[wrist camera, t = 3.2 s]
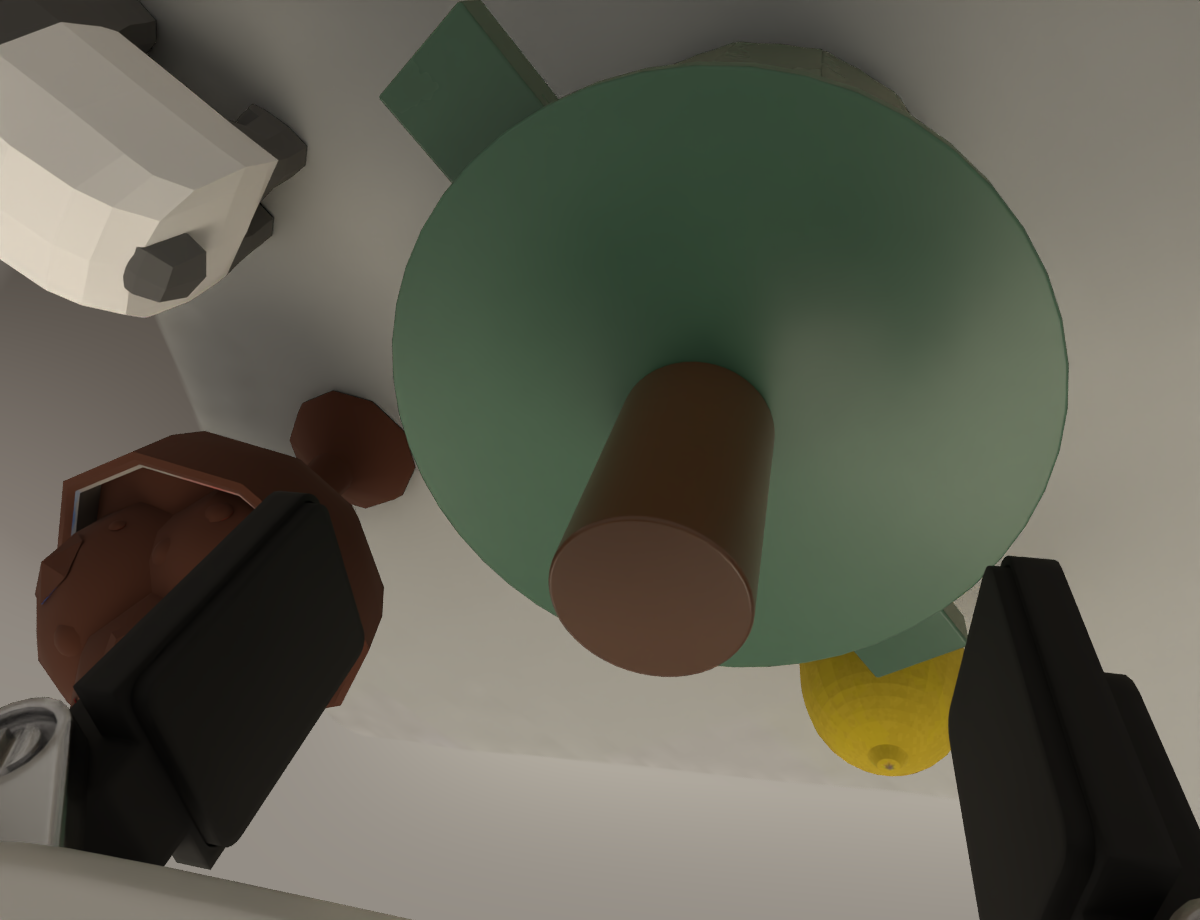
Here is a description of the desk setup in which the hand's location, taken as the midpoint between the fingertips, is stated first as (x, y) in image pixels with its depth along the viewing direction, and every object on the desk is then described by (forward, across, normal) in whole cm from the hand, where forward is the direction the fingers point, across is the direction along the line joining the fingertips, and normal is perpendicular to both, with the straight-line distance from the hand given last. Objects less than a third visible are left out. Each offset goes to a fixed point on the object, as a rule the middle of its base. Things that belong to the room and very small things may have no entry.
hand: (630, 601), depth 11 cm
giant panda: (+17, +20, -5) cm, 27 cm away
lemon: (+17, -6, +14) cm, 22 cm away
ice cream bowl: (+17, +16, +9) cm, 25 cm away
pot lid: (+6, 0, 0) cm, 6 cm away
